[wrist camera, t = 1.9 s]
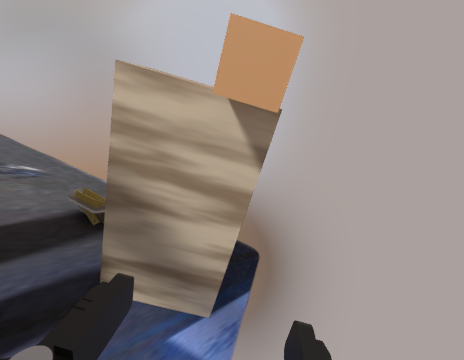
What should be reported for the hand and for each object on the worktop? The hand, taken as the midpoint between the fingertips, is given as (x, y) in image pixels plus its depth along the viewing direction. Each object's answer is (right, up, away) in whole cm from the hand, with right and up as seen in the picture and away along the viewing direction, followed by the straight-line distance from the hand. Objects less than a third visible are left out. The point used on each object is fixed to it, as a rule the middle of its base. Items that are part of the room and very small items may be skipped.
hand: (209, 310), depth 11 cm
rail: (+2, +16, +14) cm, 21 cm away
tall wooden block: (-10, -11, +28) cm, 31 cm away
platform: (-29, -2, +36) cm, 47 cm away
